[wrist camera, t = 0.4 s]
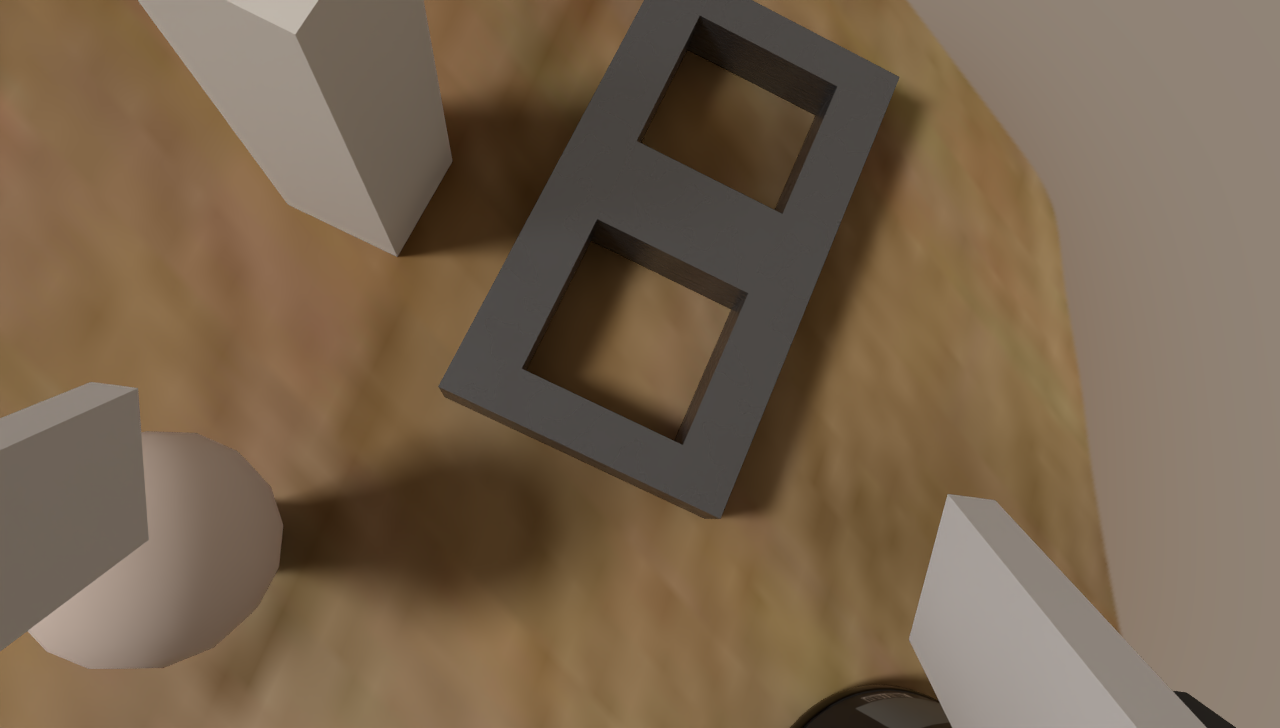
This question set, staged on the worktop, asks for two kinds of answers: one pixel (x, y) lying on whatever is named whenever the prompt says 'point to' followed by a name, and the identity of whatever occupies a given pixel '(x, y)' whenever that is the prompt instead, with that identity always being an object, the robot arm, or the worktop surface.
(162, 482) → the light bulb
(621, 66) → the rail plate
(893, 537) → the worktop surface
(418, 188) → the square post
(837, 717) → the supplement container
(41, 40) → the worktop surface
